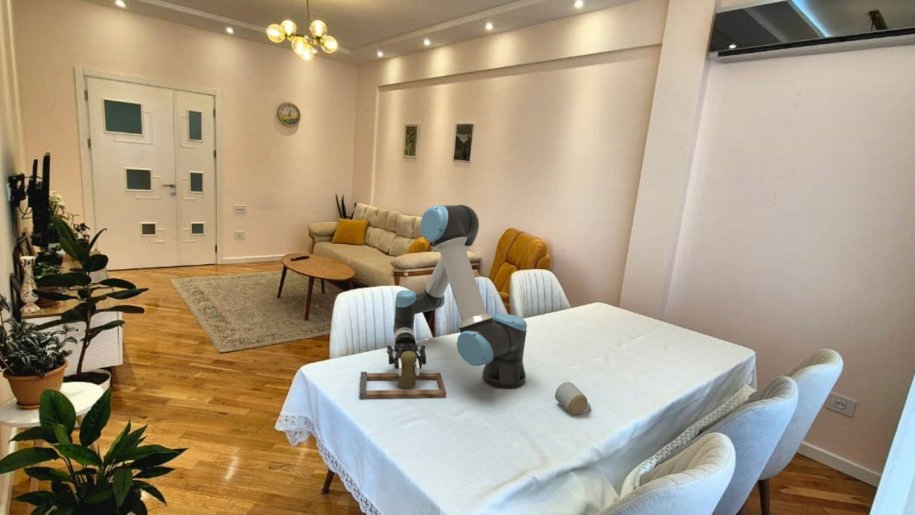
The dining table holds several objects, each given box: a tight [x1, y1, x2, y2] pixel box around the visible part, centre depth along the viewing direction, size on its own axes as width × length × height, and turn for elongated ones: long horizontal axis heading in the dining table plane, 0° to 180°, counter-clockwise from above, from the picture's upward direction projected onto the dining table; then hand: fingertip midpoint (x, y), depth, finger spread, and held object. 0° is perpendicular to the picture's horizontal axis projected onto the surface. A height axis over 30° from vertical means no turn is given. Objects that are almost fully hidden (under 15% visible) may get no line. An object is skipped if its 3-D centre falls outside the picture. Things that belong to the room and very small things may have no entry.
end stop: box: [358, 371, 368, 400], centre depth 146 cm, size 2×14×2 cm, turn 10°
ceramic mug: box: [554, 381, 592, 416], centre depth 144 cm, size 11×8×8 cm
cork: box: [397, 351, 417, 389], centre depth 148 cm, size 6×6×11 cm
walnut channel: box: [365, 372, 447, 400], centre depth 148 cm, size 25×14×2 cm, turn 100°
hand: (409, 371), depth 143 cm, fingers closed on cork, 5 cm apart
